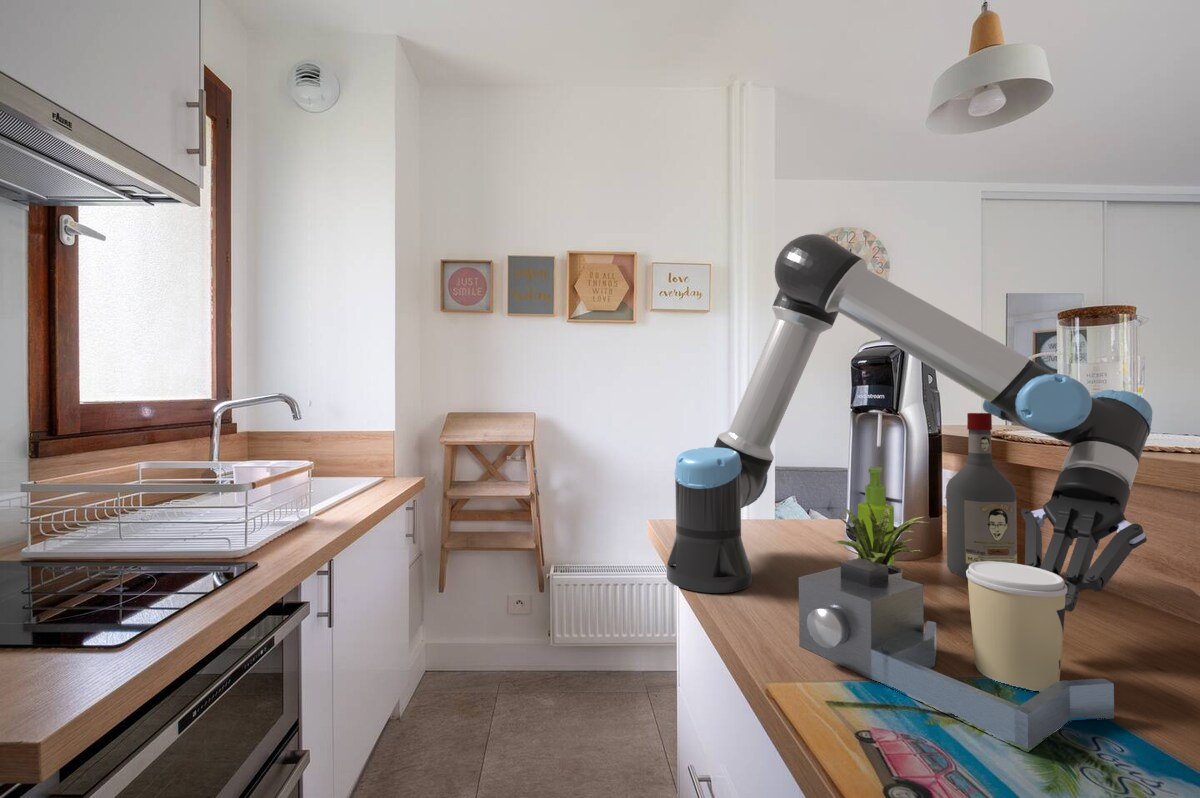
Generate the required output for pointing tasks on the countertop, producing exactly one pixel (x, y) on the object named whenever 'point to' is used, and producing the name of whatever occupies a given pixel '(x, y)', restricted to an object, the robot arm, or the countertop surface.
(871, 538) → the soap dispenser
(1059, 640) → the coffee cup
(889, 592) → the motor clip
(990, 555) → the liquor
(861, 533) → the house plant
